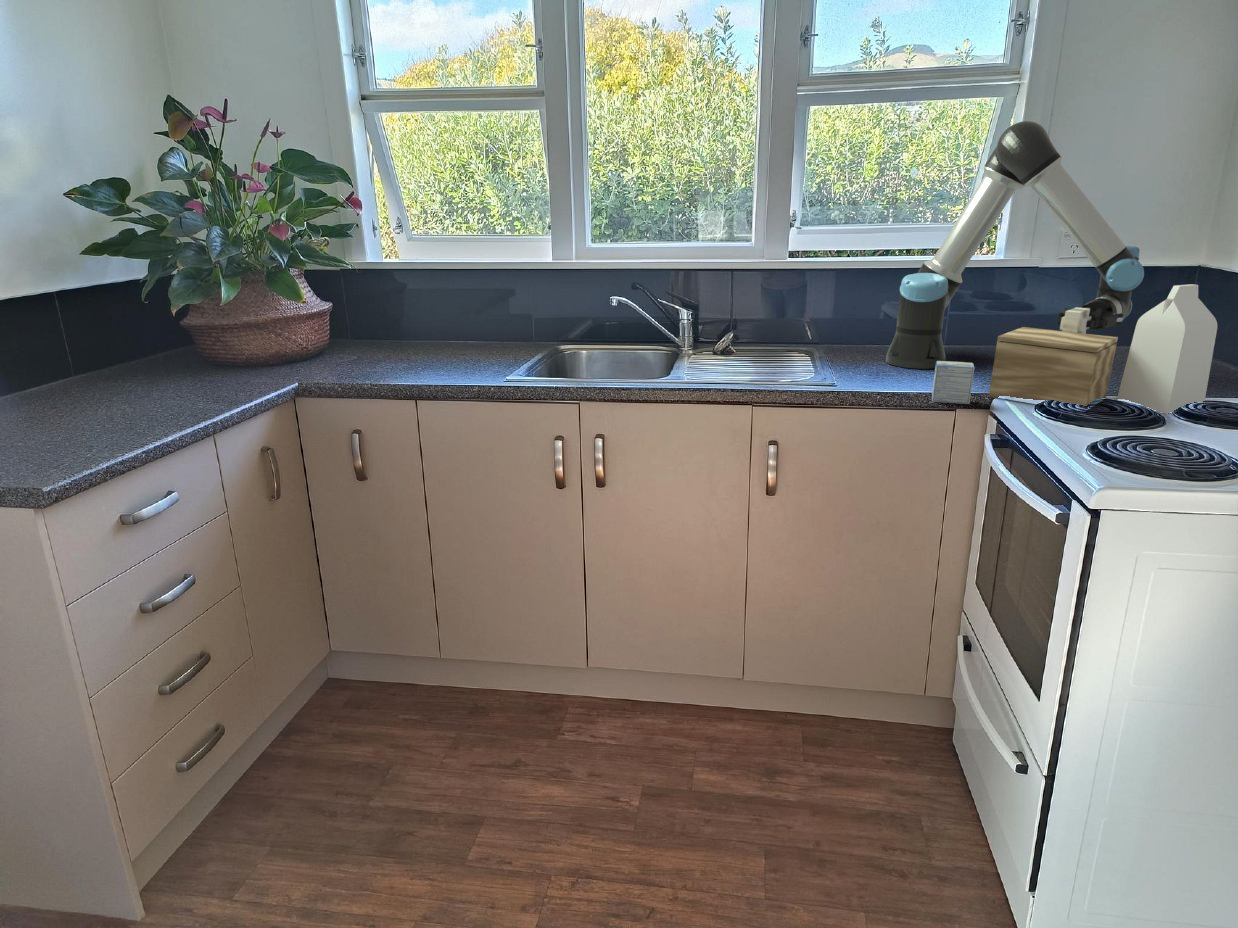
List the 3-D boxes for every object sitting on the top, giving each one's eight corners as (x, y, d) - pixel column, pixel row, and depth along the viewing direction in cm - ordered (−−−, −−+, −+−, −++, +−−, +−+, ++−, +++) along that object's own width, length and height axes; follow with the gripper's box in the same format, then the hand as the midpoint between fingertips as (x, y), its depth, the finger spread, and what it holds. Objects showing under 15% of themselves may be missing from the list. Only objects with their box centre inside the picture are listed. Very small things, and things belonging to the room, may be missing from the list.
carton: (1084, 413, 172) (1096, 353, 167) (988, 397, 185) (997, 341, 180) (1105, 399, 182) (1116, 343, 178) (1013, 385, 196) (1022, 332, 191)
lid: (1094, 364, 168) (1101, 326, 165) (995, 351, 181) (1000, 316, 179) (1124, 347, 185) (1131, 312, 182) (1032, 336, 198) (1037, 304, 195)
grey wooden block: (968, 400, 182) (973, 362, 179) (969, 405, 178) (975, 366, 175) (931, 397, 185) (936, 360, 182) (931, 402, 181) (936, 364, 178)
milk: (1166, 414, 170) (1195, 290, 162) (1116, 401, 180) (1140, 283, 172) (1203, 408, 175) (1233, 286, 166) (1151, 396, 185) (1177, 281, 176)
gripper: (1134, 332, 197) (1107, 345, 181) (1062, 324, 207) (1031, 336, 191) (1140, 301, 194) (1114, 311, 178) (1067, 295, 205) (1036, 304, 189)
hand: (1071, 324), depth 185 cm, fingers closed on lid, 3 cm apart
